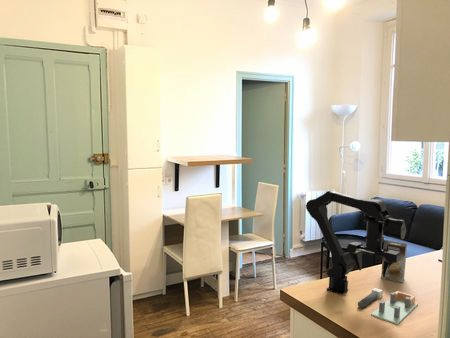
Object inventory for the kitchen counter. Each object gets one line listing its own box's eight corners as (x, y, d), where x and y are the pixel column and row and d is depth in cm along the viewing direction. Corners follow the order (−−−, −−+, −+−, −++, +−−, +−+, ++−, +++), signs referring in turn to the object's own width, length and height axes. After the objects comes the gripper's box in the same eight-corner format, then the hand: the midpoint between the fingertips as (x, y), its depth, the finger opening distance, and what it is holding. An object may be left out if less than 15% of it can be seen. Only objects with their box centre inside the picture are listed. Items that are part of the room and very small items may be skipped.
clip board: (371, 315, 130) (371, 304, 130) (393, 297, 145) (393, 287, 145) (397, 324, 124) (398, 313, 124) (417, 304, 139) (418, 294, 139)
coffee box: (380, 278, 164) (382, 243, 163) (382, 273, 170) (385, 239, 168) (403, 283, 160) (405, 246, 158) (404, 278, 165) (407, 243, 163)
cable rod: (355, 307, 136) (355, 301, 136) (374, 293, 148) (374, 287, 148) (363, 310, 134) (364, 303, 134) (382, 296, 146) (382, 290, 146)
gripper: (408, 234, 138) (405, 274, 140) (359, 225, 151) (357, 262, 153) (397, 240, 131) (394, 283, 132) (347, 229, 143) (345, 268, 145)
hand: (372, 273), depth 141 cm, fingers open, 9 cm apart
